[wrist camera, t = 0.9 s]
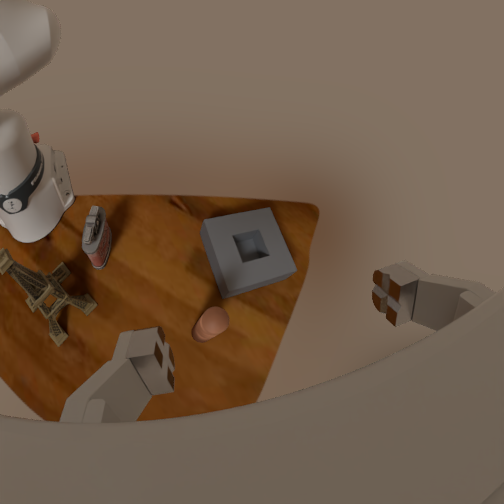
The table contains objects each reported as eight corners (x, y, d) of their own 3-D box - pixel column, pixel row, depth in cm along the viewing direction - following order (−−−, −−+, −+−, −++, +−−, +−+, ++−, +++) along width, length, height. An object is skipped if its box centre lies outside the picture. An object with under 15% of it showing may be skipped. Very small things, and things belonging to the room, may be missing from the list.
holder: (199, 232, 51) (203, 219, 47) (261, 220, 56) (269, 207, 52) (222, 298, 47) (228, 291, 43) (285, 279, 53) (297, 270, 48)
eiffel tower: (59, 346, 35) (-29, 320, 13) (26, 301, 35) (-57, 242, 14) (97, 305, 40) (39, 241, 18) (63, 262, 40) (3, 177, 19)
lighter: (97, 227, 45) (86, 197, 36) (114, 228, 46) (106, 198, 37) (89, 268, 42) (74, 244, 33) (107, 270, 43) (94, 246, 34)
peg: (188, 326, 44) (198, 310, 31) (206, 321, 45) (223, 303, 33) (195, 344, 43) (207, 336, 31) (213, 339, 44) (233, 328, 32)
